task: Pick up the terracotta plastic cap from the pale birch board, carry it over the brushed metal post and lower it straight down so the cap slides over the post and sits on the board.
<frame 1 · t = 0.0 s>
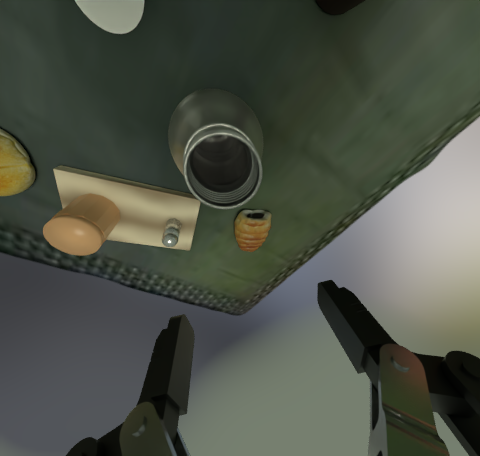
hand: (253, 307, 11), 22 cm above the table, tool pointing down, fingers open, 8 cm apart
pastry: (251, 224, 36), on the table
board: (137, 212, 30), on the table
cap: (98, 211, 28), point 1 cm above the table, touching board
plastic bottle: (213, 122, 24), on the table
post: (174, 224, 31), resting on board
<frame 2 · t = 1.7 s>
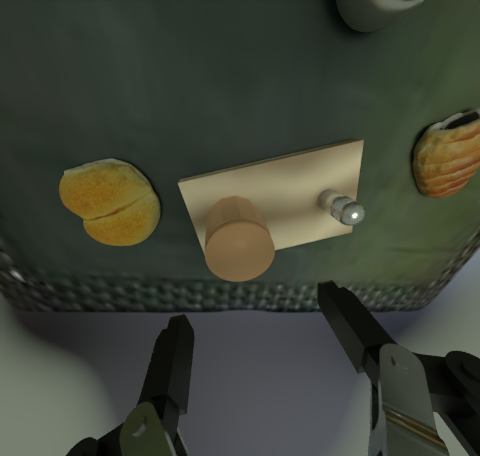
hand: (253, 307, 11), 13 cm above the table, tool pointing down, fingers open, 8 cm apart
pastry: (435, 152, 22), on the table
board: (272, 205, 22), on the table
cap: (233, 220, 21), point 1 cm above the table, touching board
post: (327, 198, 21), resting on board
bread roll: (120, 199, 20), on the table
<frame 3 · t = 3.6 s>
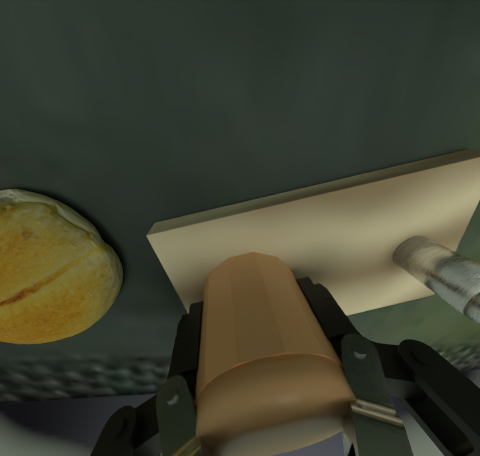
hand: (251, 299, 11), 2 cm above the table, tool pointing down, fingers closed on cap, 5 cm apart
board: (312, 257, 13), on the table
cap: (249, 289, 12), point 1 cm above the table, touching board, gripper
post: (410, 250, 12), resting on board
bread roll: (52, 254, 11), on the table
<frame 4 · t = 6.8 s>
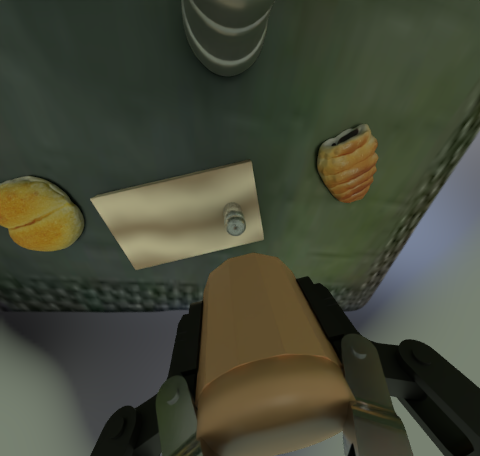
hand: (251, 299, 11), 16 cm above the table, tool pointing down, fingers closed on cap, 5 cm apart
pastry: (341, 162, 24), on the table
board: (188, 216, 25), on the table
cap: (249, 289, 12), point 15 cm above the table, touching gripper
plastic bottle: (223, 39, 17), on the table
post: (232, 211, 24), resting on board
bread roll: (47, 210, 23), on the table
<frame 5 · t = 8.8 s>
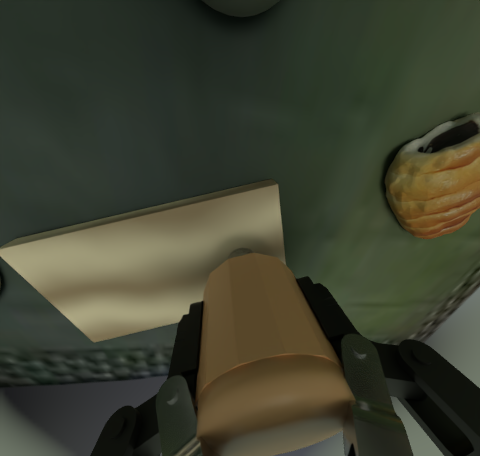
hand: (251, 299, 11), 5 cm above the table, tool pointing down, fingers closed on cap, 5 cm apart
pastry: (420, 176, 15), on the table
board: (173, 265, 16), on the table
cap: (249, 289, 12), point 4 cm above the table, touching gripper
when the fingers open (3 cm above the table, at t = 10.2 s): cap stays where it is, resting on board.
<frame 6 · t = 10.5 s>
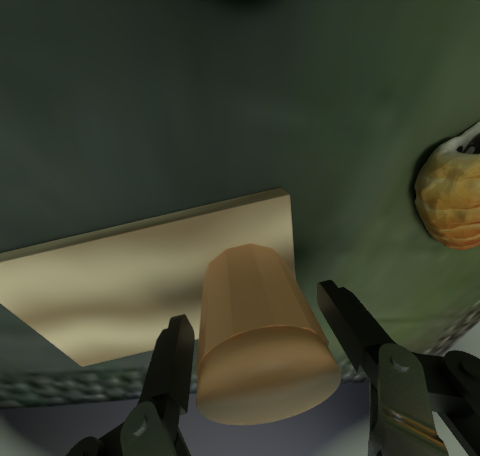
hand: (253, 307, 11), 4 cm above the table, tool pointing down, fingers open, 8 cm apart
pastry: (453, 179, 13), on the table
board: (169, 282, 14), on the table
cap: (246, 278, 13), point 1 cm above the table, touching board
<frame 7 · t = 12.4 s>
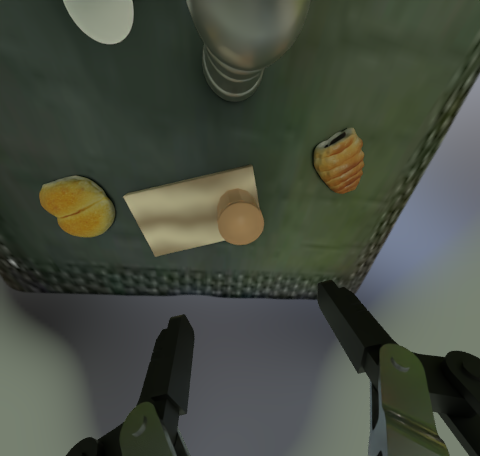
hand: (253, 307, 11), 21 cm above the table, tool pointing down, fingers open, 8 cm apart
pastry: (334, 160, 29), on the table
board: (200, 211, 30), on the table
champagne flute: (98, 0, 18), on the table
cap: (236, 207, 29), point 1 cm above the table, touching board
plastic bottle: (231, 73, 22), on the table
bread roll: (86, 203, 28), on the table
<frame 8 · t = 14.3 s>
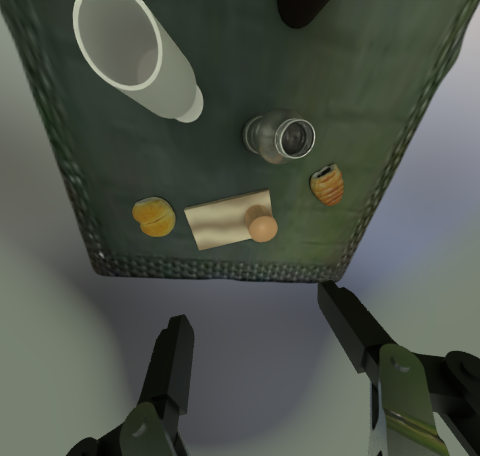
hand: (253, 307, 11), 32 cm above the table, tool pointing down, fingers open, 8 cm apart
pastry: (324, 183, 42), on the table
board: (231, 219, 43), on the table
champagne flute: (184, 100, 32), on the table
cap: (257, 216, 42), point 1 cm above the table, touching board
plastic bottle: (257, 135, 36), on the table
bread roll: (156, 214, 41), on the table
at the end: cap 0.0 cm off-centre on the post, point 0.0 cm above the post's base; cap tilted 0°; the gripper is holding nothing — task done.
